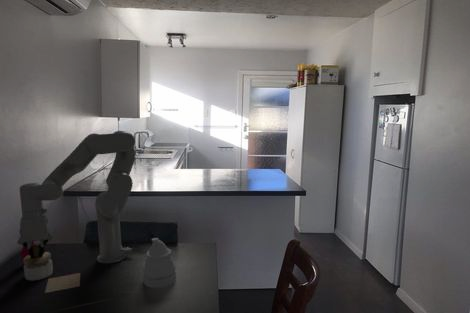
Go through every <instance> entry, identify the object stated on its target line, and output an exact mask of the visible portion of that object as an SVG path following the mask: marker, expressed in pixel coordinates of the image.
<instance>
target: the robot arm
mask: <svg viewBox="0 0 470 313" xmlns="http://www.w3.org/2000/svg"><path fill="white" fill-rule="evenodd" d="M135 145H136V139H135V135H134V134H132V133H130V132H128V131H123V130H117V131H114V132H113V133H95V132H94V133H89V134H87V136H85V138H84V139H82V141H81V142H80V143H79V144H78V145H77V146H76V147H75V148H74V150H72V151H71V153H69V155H68V156H67V157H66V158H65V159H64V160H63V161H62V162H61V163H60V164H58V165H57V166H56V167H55V169H54V170H52V171H51V173H50V174H49V175H48V176H47V177H46V178H45V179H44V180H43V181H42V183H41V184H39V183H37V182H32V183H31V182H29V183H24V184H22V185H20V187H19V196H20V197H19V198H20V205H21V214H22V215H21V217H20V221H19V222H20V223H19V231H20V233H19V236H20V237H18V241H17V245H19V246H22V247H23V246H25V247H26V248H27V249H28V250H29V256H31V258H33V249H32V241H34V242H37V241H39V244H40V256H41V257H42V256H43V254H44V253H45V252H46V251H45V245H46V244H48V242H50V241H52V240H53V239H54V235H52V233H51V231H50V227H49V221H48V218H47V215H46V214H45V213H48V209H47V208H46V209H45V208H44V207H43V206H44V204H43V201H45V202H46V201H56V200H58V199H60V198H61V197H62V195H63V187H64V186H65V185H66V183H67V182H68V181H69V180H70V179H71V178H72V177H73V176H75V175H77V174H79V173H81V172H83V171H85V169H86V168H87V167H88V166H89V164H91V163H92V161H93V160H94V159H95V158H97V156H98V155H107V154H109V155H110V154H115V157H114V160H113V163H112V166H111V168H110V170H109V172H108V175H107V177H106V180H105V182H106V185H107V187H108V188H107V191H102V192H100V193H99V194H98V195H97V196H96V198H95V202H94V205H95V206H94V207H95V211H96V212H95V213H96V218H97V219H96V220H97V232H98V243H99V255H98V256H97V257H96V261H97V262H98V263H100V264H113V263H119V262H121V261H123V260H124V259H125V258H126V256H127V255H126V254H127V253H128V254H129V253H133V248H132V247H128V246H127V247H123V245H122V235H121V221H120V220H121V219H120V215H121V214H122V212H123V211H124V208H125V206H126V204H127V201H128V200H129V197H130V194H131V192H132V189H133V179H132V177H131V175H130V174H131V171H132V169H133V166H134V163H135V161H136V160H135V158H136V151H135Z"/></svg>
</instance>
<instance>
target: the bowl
mask: <svg viewBox="0 0 470 313" xmlns="http://www.w3.org/2000/svg"><path fill="white" fill-rule="evenodd" d="M23 271H24V272H23V273H24V278H25V280H27V281H39V280H42V279H45V278H48V277H50V276H51V275H52V274H53V272H54V271H53V259H51V258H50V259H49V260H48V261H45V262H43V263H40V264H34V265H27V264H25V265H24V267H23Z"/></svg>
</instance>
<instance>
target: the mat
mask: <svg viewBox="0 0 470 313" xmlns="http://www.w3.org/2000/svg"><path fill="white" fill-rule="evenodd" d="M80 286H81V272H78V273H77V272H76V273H72V274H67V275H66V274H65V275H62V276H57V277H51V278H48V279H47V283H46V286H45V292H44V294H46V293H52V292H57V291H63V290H67V289H72V288H78V287H80Z"/></svg>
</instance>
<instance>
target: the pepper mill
mask: <svg viewBox="0 0 470 313" xmlns="http://www.w3.org/2000/svg"><path fill="white" fill-rule="evenodd" d="M19 234H20V230H19ZM35 244H36V243H35V241H32V245H35ZM28 255H29V250H28V249H27V248H26V247H25V246H23V245H22V249H21V251H20V259H21V261H22V267H23V268H24V265H25V264H24V262H23V259H24V258H25V257H26V256H28Z"/></svg>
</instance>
